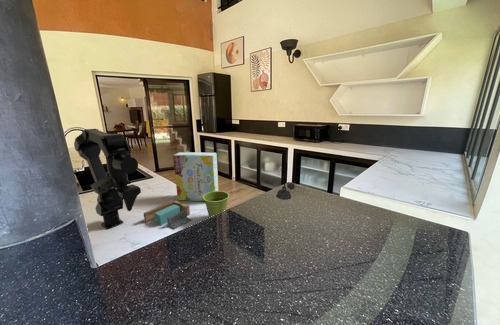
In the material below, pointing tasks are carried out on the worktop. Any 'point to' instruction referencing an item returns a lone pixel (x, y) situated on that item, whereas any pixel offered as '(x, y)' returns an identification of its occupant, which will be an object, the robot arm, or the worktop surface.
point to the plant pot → (216, 202)
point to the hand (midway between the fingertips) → (123, 207)
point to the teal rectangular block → (166, 214)
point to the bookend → (178, 219)
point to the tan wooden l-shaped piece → (151, 213)
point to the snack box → (195, 175)
